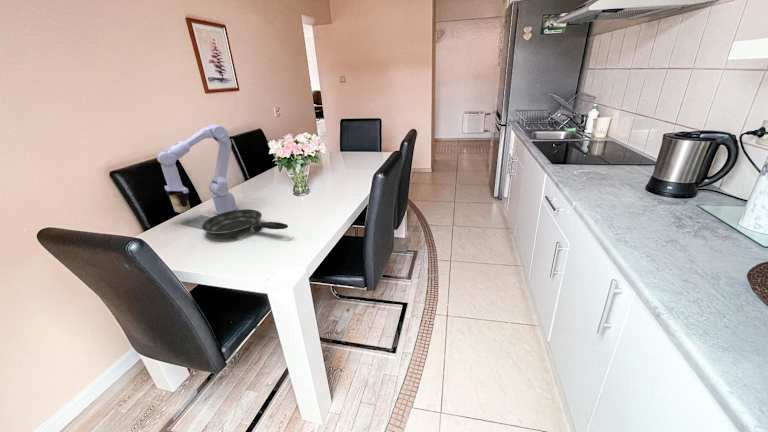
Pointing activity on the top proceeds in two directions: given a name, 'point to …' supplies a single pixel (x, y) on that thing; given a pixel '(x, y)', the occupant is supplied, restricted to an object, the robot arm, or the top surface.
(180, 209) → the oak block
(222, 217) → the frying pan
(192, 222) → the grey rubber mat
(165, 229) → the top surface
